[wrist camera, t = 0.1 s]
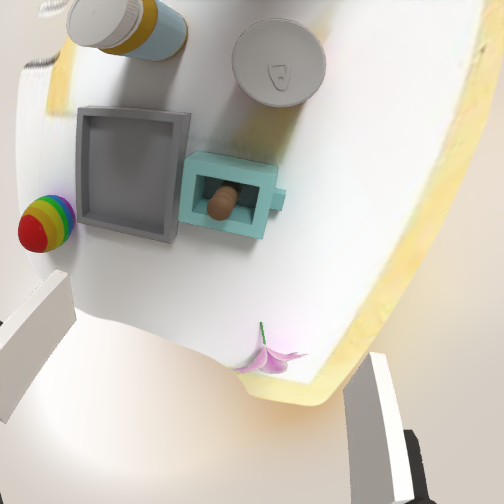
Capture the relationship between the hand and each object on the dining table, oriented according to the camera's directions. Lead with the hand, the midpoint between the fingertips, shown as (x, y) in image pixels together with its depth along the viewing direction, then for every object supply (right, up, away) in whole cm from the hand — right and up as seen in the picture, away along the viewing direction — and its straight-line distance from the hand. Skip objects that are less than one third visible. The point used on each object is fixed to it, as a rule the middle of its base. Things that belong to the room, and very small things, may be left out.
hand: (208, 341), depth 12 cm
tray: (-14, +15, +26) cm, 33 cm away
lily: (+5, -11, +38) cm, 39 cm away
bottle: (-9, +30, +17) cm, 35 cm away
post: (-1, +12, +26) cm, 28 cm away
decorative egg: (-29, +10, +30) cm, 43 cm away
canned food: (+5, +24, +18) cm, 31 cm away
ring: (-1, +12, +26) cm, 28 cm away
